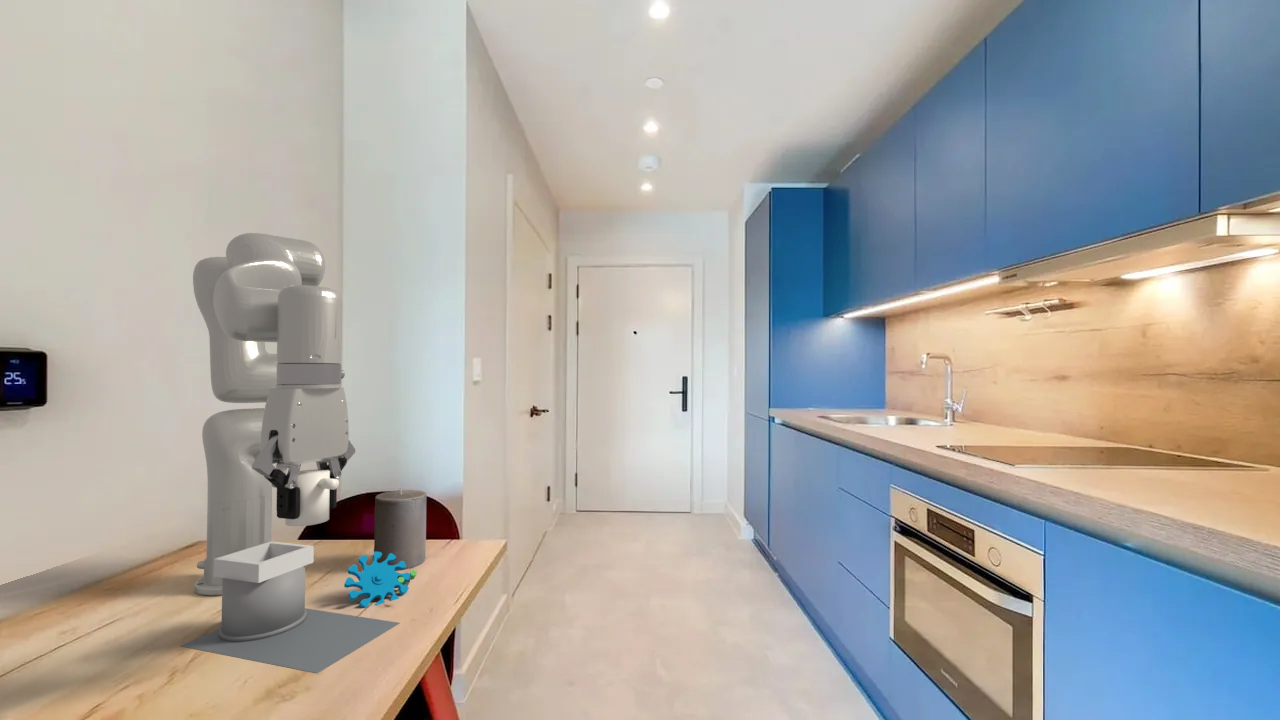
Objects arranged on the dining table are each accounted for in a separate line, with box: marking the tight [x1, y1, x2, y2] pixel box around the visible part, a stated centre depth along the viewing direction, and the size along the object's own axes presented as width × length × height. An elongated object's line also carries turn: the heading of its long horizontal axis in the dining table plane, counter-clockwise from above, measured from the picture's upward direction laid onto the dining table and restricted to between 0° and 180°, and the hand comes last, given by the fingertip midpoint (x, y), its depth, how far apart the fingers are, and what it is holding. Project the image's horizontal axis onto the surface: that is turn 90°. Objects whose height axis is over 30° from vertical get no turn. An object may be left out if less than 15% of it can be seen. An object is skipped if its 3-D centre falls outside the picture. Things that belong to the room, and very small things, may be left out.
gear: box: [343, 551, 418, 609], centre depth 90 cm, size 11×6×10 cm
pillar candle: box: [373, 487, 428, 571], centre depth 108 cm, size 10×10×15 cm
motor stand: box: [179, 540, 401, 674], centre depth 76 cm, size 24×14×12 cm, turn 73°
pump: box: [285, 468, 340, 527], centre depth 72 cm, size 7×5×6 cm
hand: (307, 511), depth 72 cm, fingers closed on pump, 5 cm apart
